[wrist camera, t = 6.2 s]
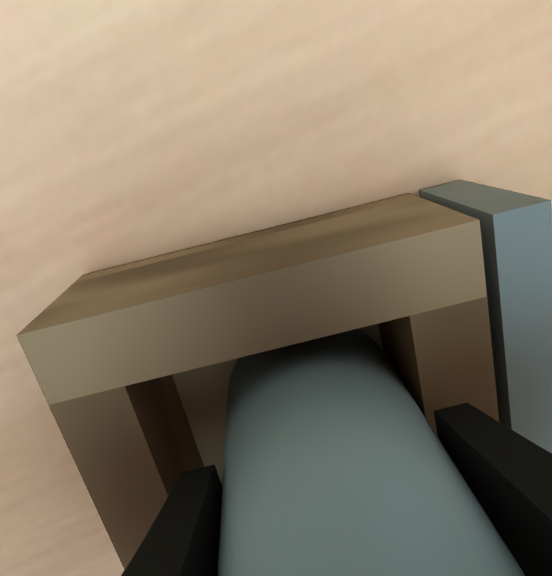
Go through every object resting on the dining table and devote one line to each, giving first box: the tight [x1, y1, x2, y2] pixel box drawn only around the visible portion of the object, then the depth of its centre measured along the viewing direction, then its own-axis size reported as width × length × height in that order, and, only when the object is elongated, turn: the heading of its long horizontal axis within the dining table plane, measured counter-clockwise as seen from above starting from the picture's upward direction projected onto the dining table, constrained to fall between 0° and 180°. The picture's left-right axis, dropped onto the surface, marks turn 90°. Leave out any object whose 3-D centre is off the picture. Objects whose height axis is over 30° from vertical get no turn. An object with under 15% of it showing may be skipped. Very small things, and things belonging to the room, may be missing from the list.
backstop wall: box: [420, 180, 552, 453], centre depth 11 cm, size 1×8×4 cm, turn 14°
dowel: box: [218, 328, 525, 576], centre depth 7 cm, size 4×4×9 cm
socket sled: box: [17, 193, 499, 569], centre depth 11 cm, size 8×8×4 cm
